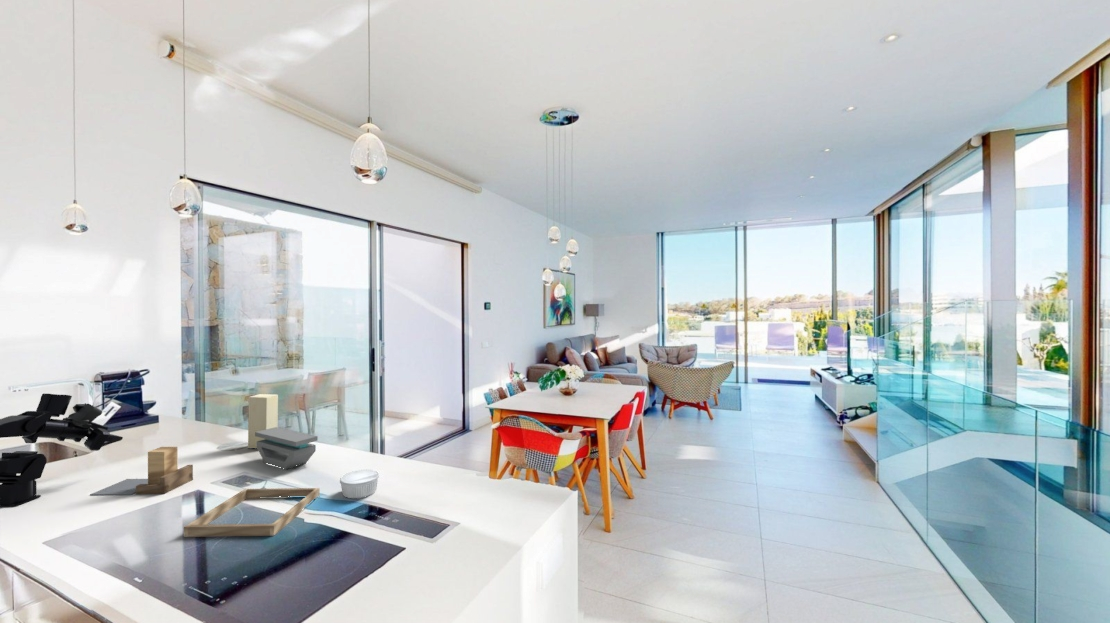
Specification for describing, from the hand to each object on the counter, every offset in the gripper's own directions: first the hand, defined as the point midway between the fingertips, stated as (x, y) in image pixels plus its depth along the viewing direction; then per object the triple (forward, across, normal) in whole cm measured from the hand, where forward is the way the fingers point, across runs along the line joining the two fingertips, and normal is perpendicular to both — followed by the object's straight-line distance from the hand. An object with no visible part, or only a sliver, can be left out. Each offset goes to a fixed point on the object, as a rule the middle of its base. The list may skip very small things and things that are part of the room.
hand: (114, 433), depth 153 cm
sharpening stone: (+26, -49, -10) cm, 56 cm away
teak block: (0, -33, +5) cm, 33 cm away
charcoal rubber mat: (-3, -24, +9) cm, 25 cm away
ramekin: (+13, -92, -17) cm, 94 cm away
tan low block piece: (0, -33, +5) cm, 33 cm away
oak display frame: (-6, -78, -6) cm, 78 cm away
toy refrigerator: (+38, -24, -7) cm, 45 cm away
